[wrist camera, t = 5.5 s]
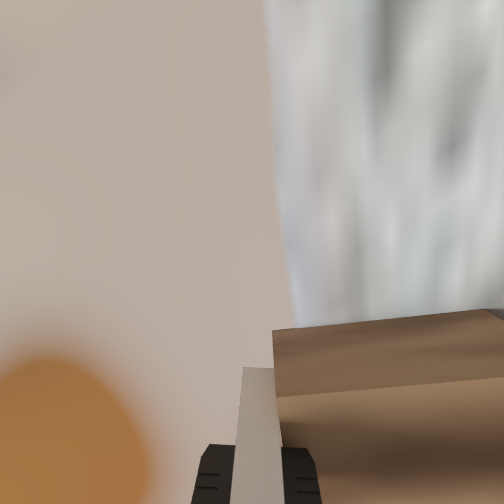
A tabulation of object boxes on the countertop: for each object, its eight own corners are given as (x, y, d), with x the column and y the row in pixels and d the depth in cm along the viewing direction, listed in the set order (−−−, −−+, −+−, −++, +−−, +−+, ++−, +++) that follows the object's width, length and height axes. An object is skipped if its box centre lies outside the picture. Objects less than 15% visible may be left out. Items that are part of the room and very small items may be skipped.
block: (272, 330, 15) (275, 397, 10) (483, 307, 14) (583, 370, 9) (287, 441, 16) (296, 539, 12) (474, 427, 16) (556, 525, 11)
